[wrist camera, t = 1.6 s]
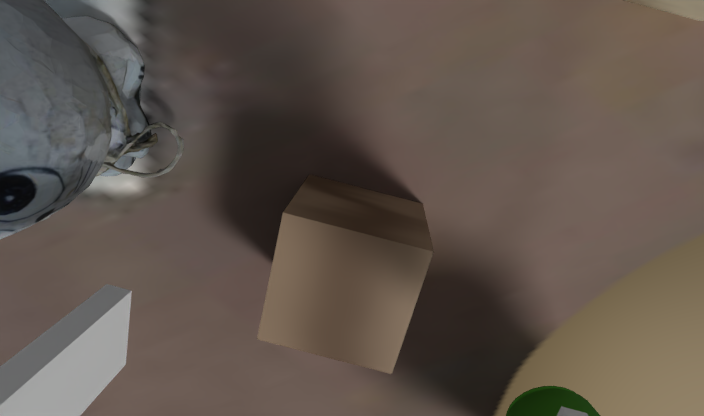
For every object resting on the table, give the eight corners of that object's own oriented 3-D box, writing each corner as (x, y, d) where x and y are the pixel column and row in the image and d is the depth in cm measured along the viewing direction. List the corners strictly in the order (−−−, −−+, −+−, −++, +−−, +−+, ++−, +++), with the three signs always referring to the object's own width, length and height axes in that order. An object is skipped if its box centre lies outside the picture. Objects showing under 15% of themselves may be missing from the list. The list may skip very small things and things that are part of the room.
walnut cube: (287, 274, 24) (256, 339, 19) (309, 173, 22) (282, 212, 17) (391, 301, 24) (391, 374, 19) (422, 203, 22) (433, 251, 17)
